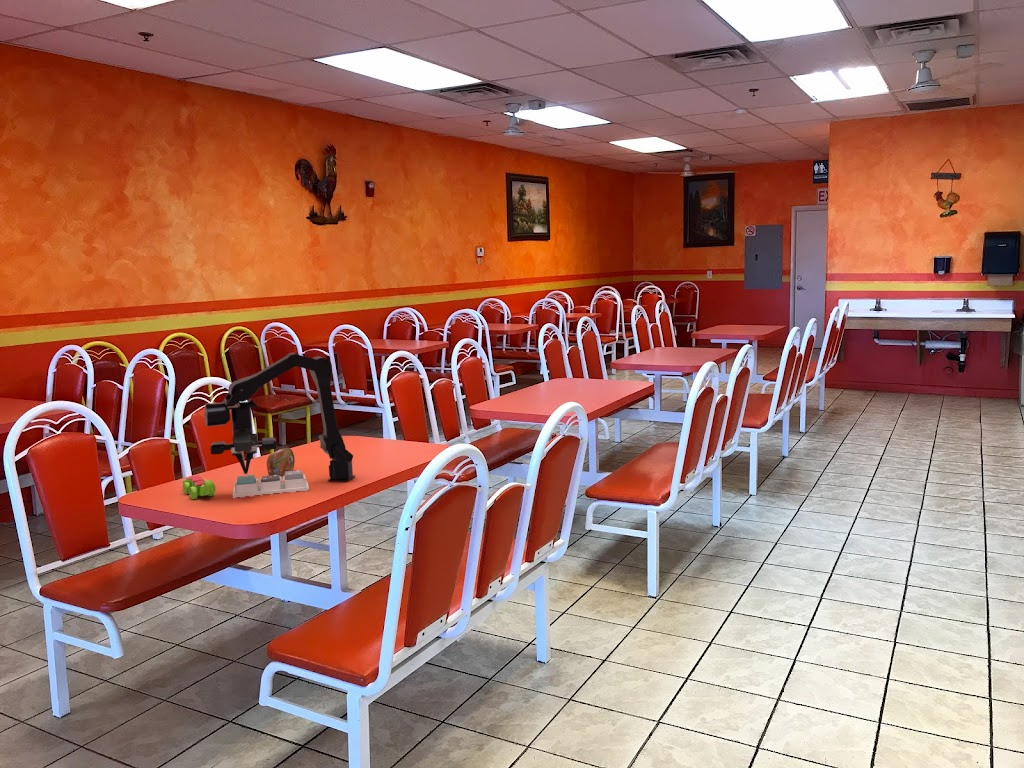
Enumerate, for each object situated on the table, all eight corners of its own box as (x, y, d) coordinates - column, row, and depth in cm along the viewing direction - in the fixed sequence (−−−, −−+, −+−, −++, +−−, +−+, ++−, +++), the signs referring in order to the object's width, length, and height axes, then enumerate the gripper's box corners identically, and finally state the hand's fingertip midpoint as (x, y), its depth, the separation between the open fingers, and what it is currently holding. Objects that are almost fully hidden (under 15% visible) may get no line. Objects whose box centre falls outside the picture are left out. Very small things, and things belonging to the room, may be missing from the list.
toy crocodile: (179, 490, 261) (177, 471, 260) (201, 487, 264) (199, 468, 264) (196, 503, 245) (194, 483, 244) (219, 499, 248) (218, 479, 248)
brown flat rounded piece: (275, 481, 268) (273, 455, 267) (266, 481, 269) (264, 455, 268) (296, 470, 283) (294, 445, 282) (287, 469, 284) (285, 445, 283)
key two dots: (302, 477, 261) (301, 469, 260) (302, 481, 256) (302, 473, 256) (285, 479, 259) (285, 471, 259) (286, 483, 255) (285, 474, 254)
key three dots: (279, 482, 259) (278, 474, 259) (279, 486, 254) (278, 477, 254) (262, 484, 258) (261, 475, 257) (262, 488, 253) (261, 479, 252)
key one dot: (255, 482, 257) (254, 473, 257) (255, 486, 252) (254, 477, 252) (238, 484, 256) (237, 475, 255) (237, 487, 251) (237, 479, 250)
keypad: (307, 483, 263) (306, 472, 263) (308, 490, 255) (308, 479, 254) (233, 490, 257) (233, 479, 257) (232, 498, 249) (232, 486, 248)
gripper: (207, 430, 241) (211, 483, 243) (274, 424, 246) (278, 476, 248) (209, 423, 252) (213, 474, 254) (274, 418, 257) (277, 468, 259)
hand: (245, 473), depth 253 cm, fingers closed
